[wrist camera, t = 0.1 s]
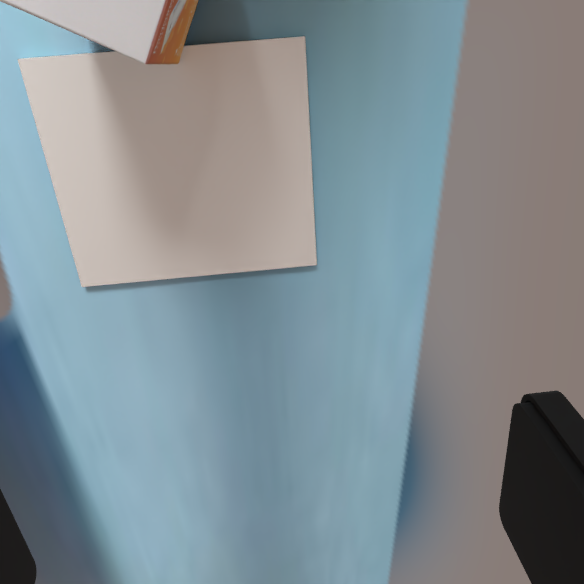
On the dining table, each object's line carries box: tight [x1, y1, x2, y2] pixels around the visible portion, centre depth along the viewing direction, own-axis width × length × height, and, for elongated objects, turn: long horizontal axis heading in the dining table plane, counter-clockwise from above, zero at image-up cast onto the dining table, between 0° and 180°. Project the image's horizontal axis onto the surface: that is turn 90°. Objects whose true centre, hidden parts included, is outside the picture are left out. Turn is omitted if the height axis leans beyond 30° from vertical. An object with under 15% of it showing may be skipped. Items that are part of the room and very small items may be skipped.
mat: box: [18, 36, 317, 287], centre depth 38 cm, size 16×18×1 cm
